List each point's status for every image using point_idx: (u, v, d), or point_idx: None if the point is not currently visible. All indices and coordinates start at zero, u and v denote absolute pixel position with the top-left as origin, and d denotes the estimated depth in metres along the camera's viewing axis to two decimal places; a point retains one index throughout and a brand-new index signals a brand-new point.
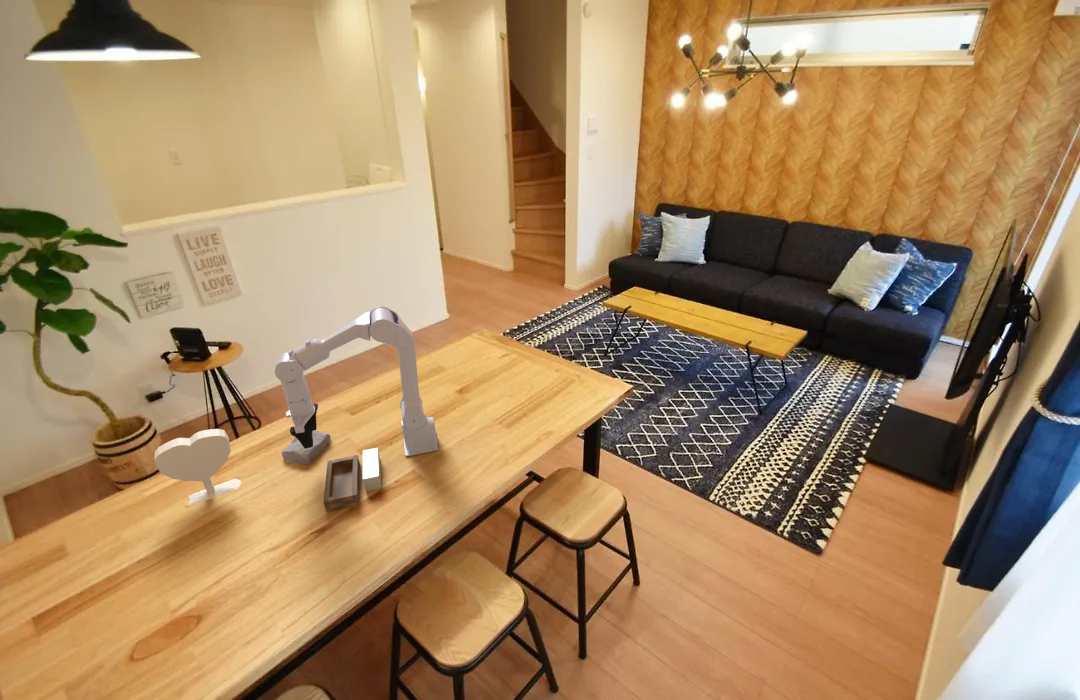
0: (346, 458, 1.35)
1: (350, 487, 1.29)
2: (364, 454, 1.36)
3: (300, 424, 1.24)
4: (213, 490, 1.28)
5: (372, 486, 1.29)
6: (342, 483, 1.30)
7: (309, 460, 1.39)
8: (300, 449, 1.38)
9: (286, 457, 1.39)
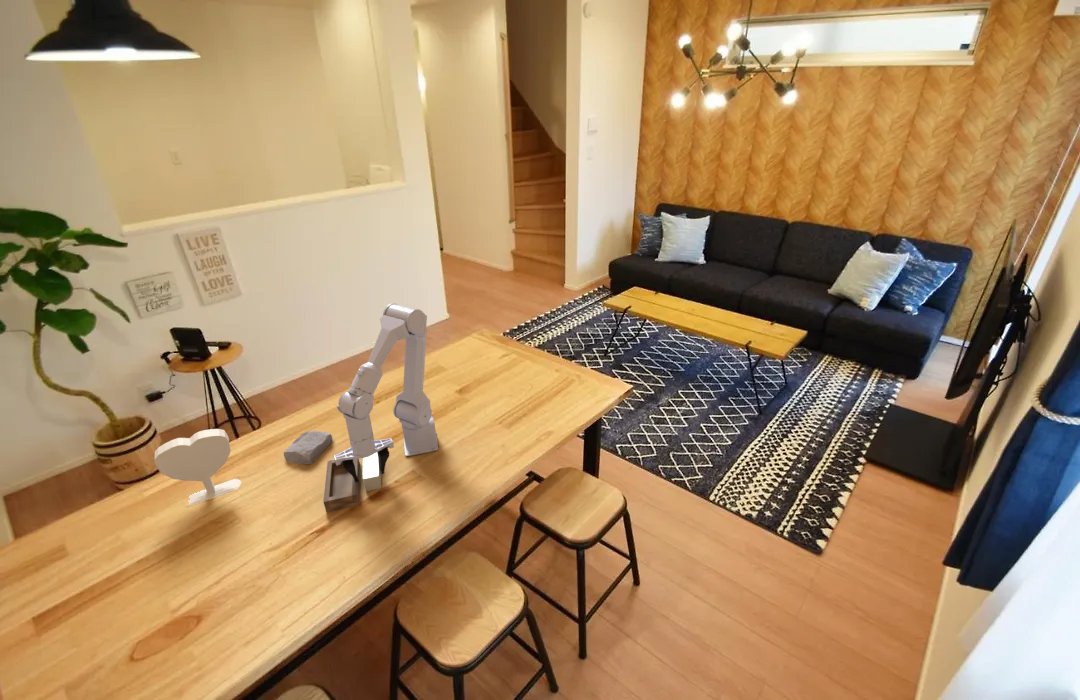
0: None
1: (350, 487, 1.29)
2: None
3: (340, 457, 1.23)
4: (213, 490, 1.28)
5: (372, 486, 1.29)
6: (342, 483, 1.30)
7: (311, 460, 1.39)
8: (302, 450, 1.38)
9: (288, 457, 1.39)
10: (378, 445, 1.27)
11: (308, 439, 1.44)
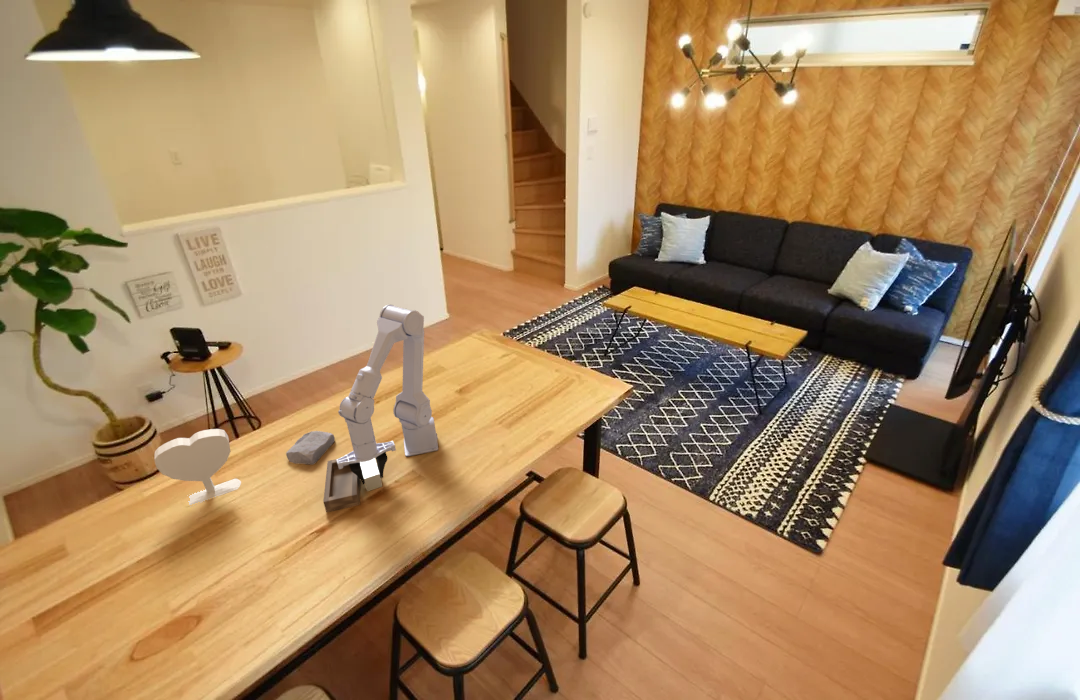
0: None
1: (350, 487, 1.29)
2: None
3: (342, 461, 1.24)
4: (213, 490, 1.28)
5: (373, 485, 1.29)
6: (342, 483, 1.30)
7: (314, 461, 1.38)
8: (304, 450, 1.38)
9: (291, 458, 1.39)
10: (380, 448, 1.28)
11: (310, 439, 1.44)
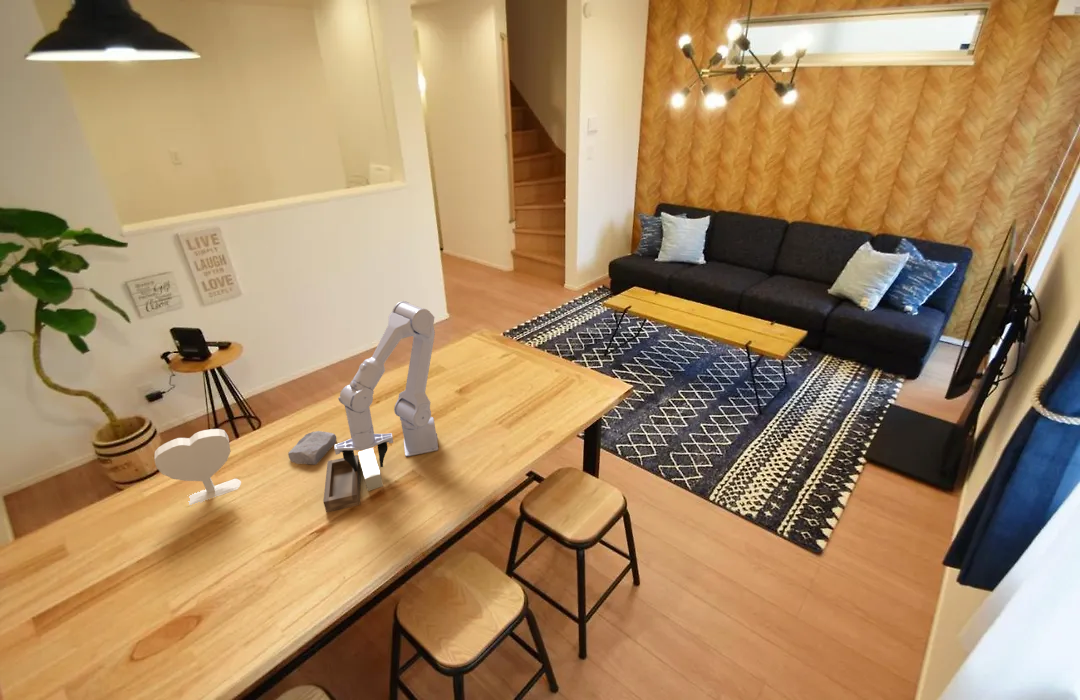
0: None
1: (350, 487, 1.29)
2: (360, 455, 1.35)
3: (340, 447, 1.27)
4: (213, 490, 1.28)
5: (374, 485, 1.29)
6: (342, 483, 1.30)
7: (316, 461, 1.38)
8: (307, 450, 1.38)
9: (293, 458, 1.39)
10: (378, 439, 1.30)
11: (312, 439, 1.44)
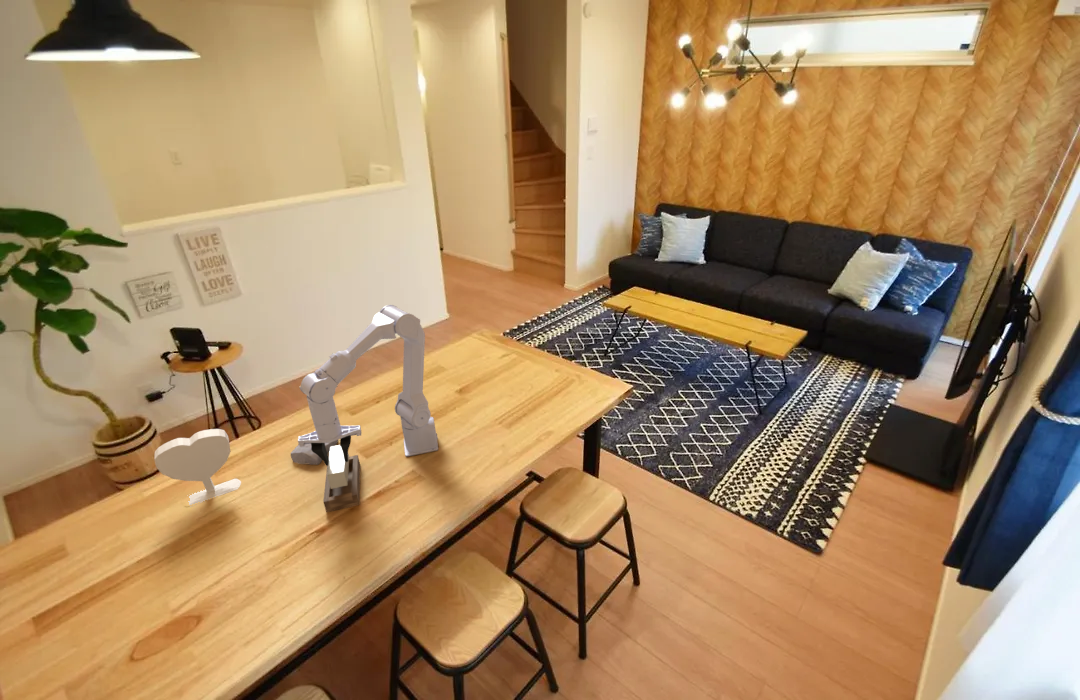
0: None
1: (350, 487, 1.29)
2: (331, 450, 1.29)
3: (304, 439, 1.20)
4: (213, 490, 1.28)
5: (337, 483, 1.22)
6: None
7: (319, 461, 1.38)
8: (309, 450, 1.38)
9: (295, 458, 1.39)
10: (345, 431, 1.23)
11: None
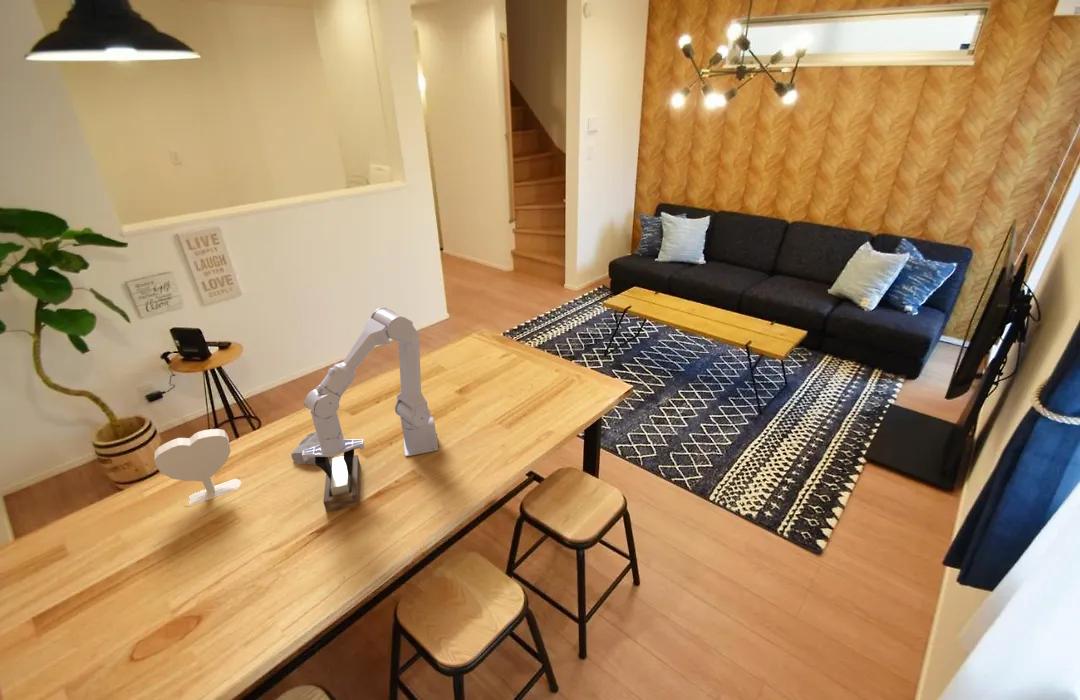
0: None
1: None
2: (334, 462, 1.31)
3: (308, 453, 1.22)
4: (213, 490, 1.28)
5: None
6: None
7: None
8: None
9: (296, 459, 1.39)
10: (348, 445, 1.25)
11: (315, 439, 1.43)
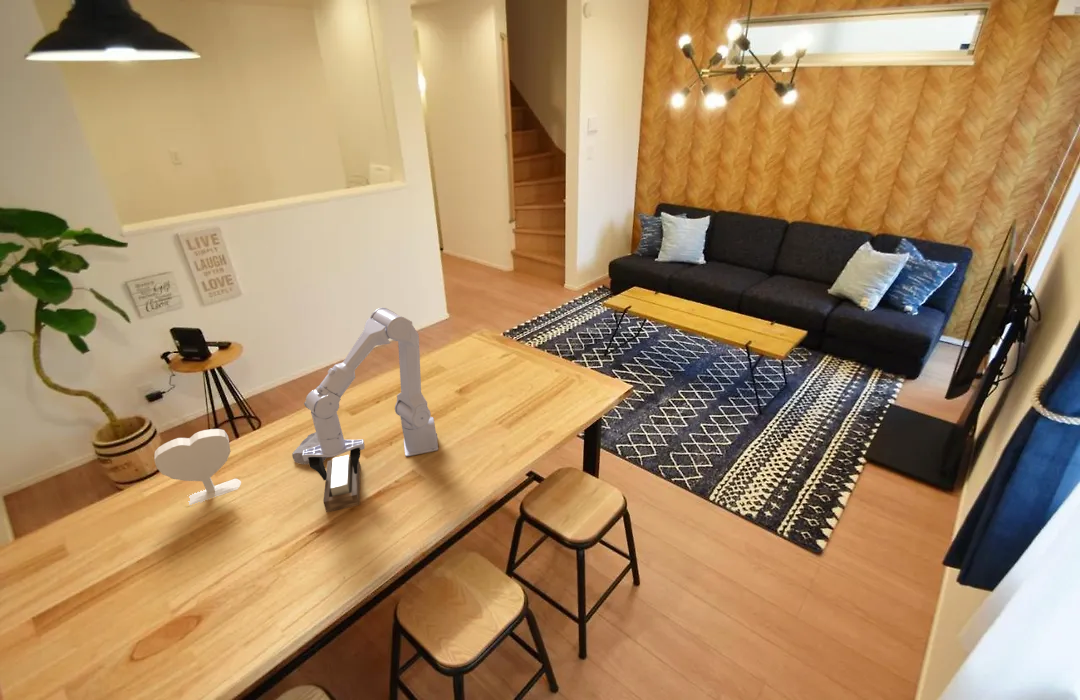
0: None
1: None
2: (334, 462, 1.31)
3: (308, 453, 1.22)
4: (213, 490, 1.28)
5: None
6: None
7: None
8: None
9: (297, 459, 1.39)
10: (348, 445, 1.25)
11: (315, 439, 1.43)
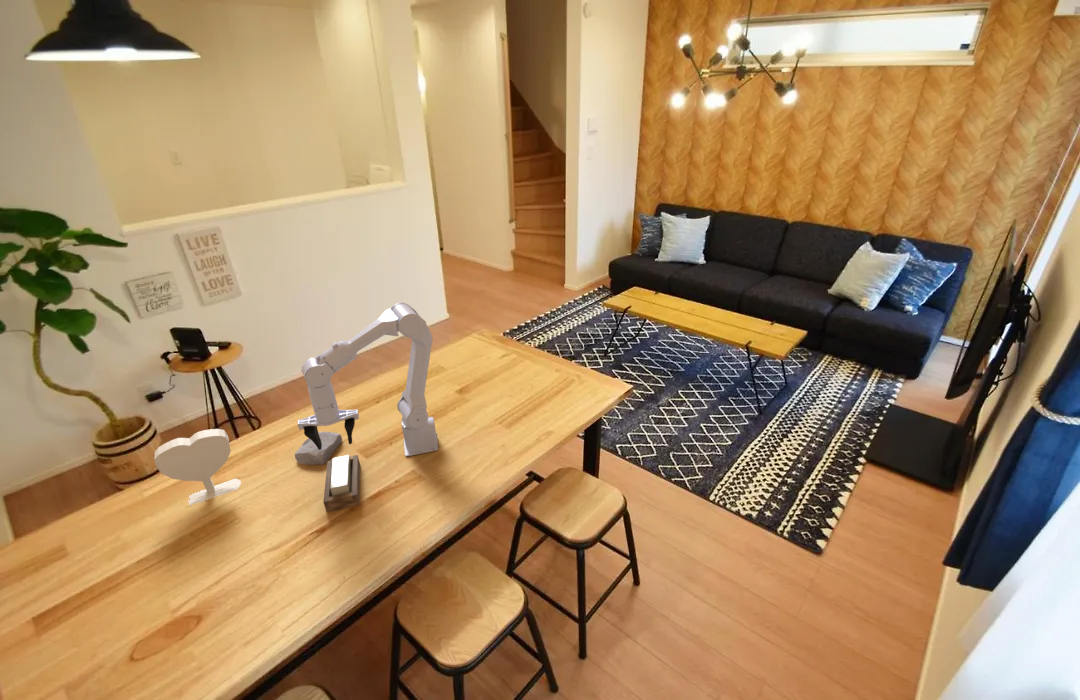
0: None
1: None
2: (334, 462, 1.31)
3: (303, 422, 1.25)
4: (213, 490, 1.28)
5: None
6: None
7: (324, 461, 1.38)
8: (314, 450, 1.38)
9: (300, 459, 1.38)
10: (343, 415, 1.27)
11: None
